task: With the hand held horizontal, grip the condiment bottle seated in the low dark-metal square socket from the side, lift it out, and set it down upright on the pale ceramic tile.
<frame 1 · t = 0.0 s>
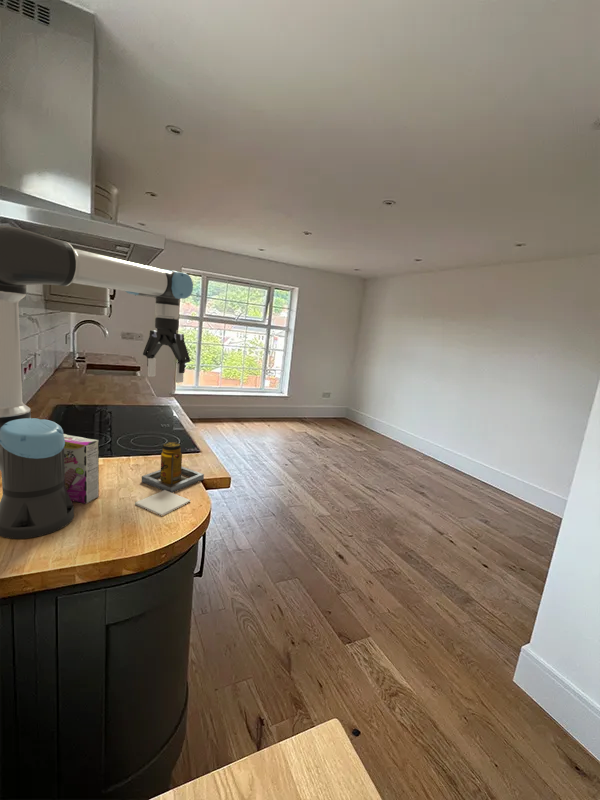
hand: (165, 379, 131), 28 cm above the worktop, tool pointing down, fingers open, 13 cm apart
socket: (173, 480, 116), on the worktop
candy bar box: (74, 498, 100), on the worktop
condiment: (173, 481, 116), resting in socket
tile: (163, 503, 101), on the worktop
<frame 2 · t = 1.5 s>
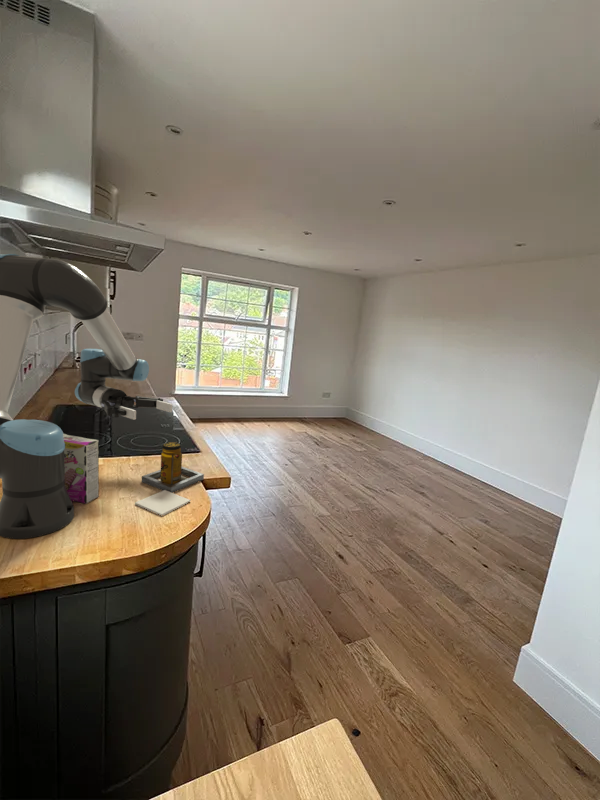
hand: (154, 411, 116), 20 cm above the worktop, tool horizontal, fingers open, 13 cm apart
nothing on the worktop moved.
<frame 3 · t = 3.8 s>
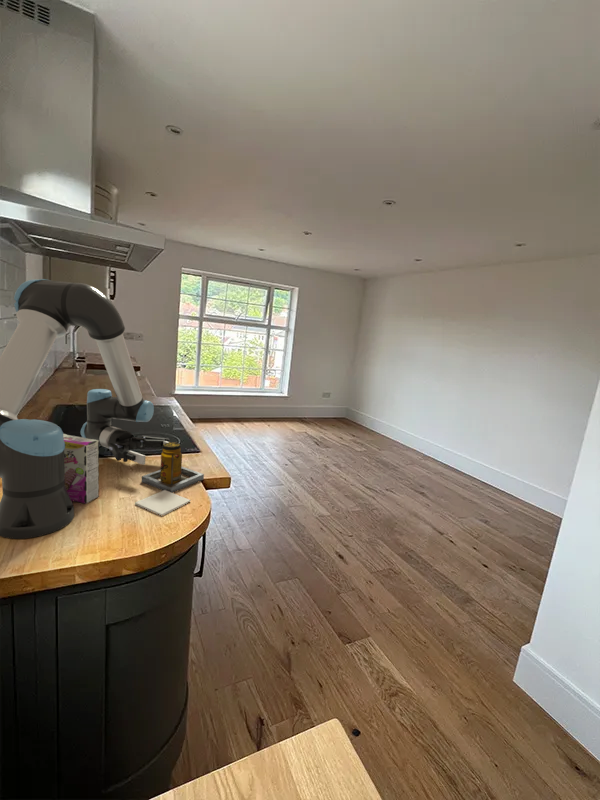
hand: (162, 454, 117), 7 cm above the worktop, tool horizontal, fingers open, 13 cm apart
nothing on the worktop moved.
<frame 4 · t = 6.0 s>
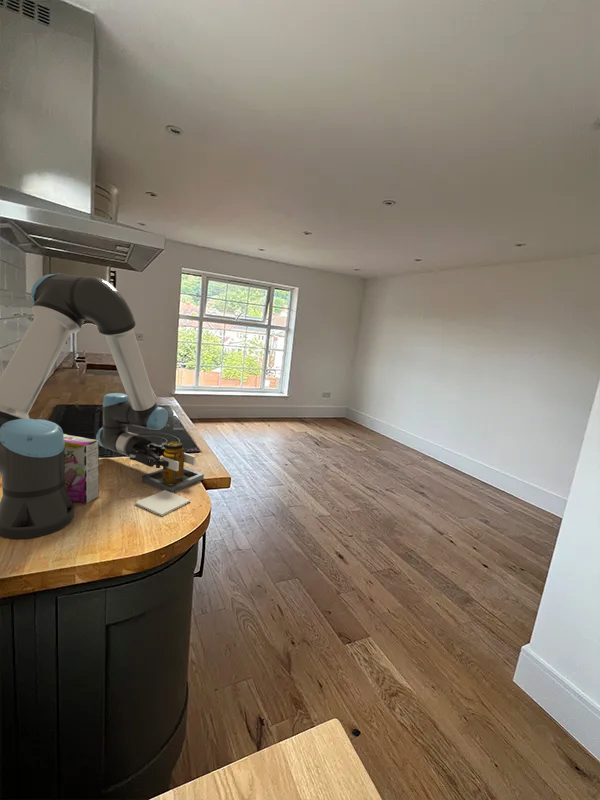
hand: (186, 463, 112), 7 cm above the worktop, tool horizontal, fingers closed on condiment, 6 cm apart
condiment: (175, 480, 116), resting in socket, touching gripper
everything else where it was.
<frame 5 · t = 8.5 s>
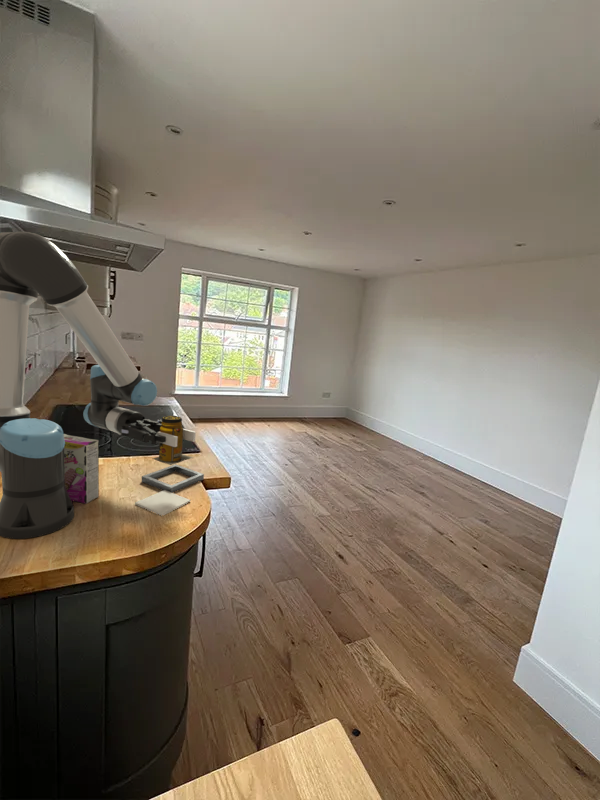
hand: (185, 439, 100), 18 cm above the worktop, tool horizontal, fingers closed on condiment, 6 cm apart
condiment: (173, 459, 104), point 11 cm above the worktop, touching gripper
everything else where it was.
when the fingers open (9 cm above the worktop, at t = 10.8 s): condiment drops 1 cm, resting on tile.
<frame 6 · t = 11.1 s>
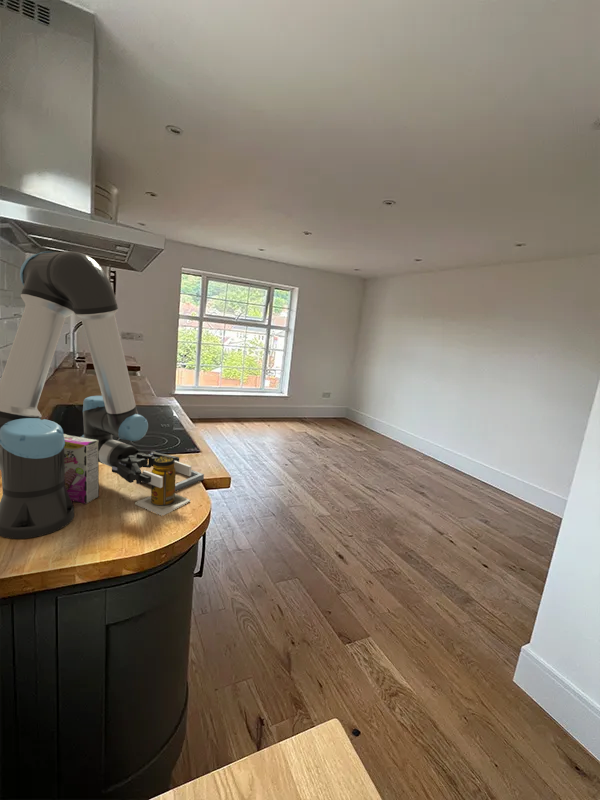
hand: (176, 476, 97), 9 cm above the worktop, tool horizontal, fingers open, 9 cm apart
condiment: (165, 501, 102), resting on tile
everything else where it was.
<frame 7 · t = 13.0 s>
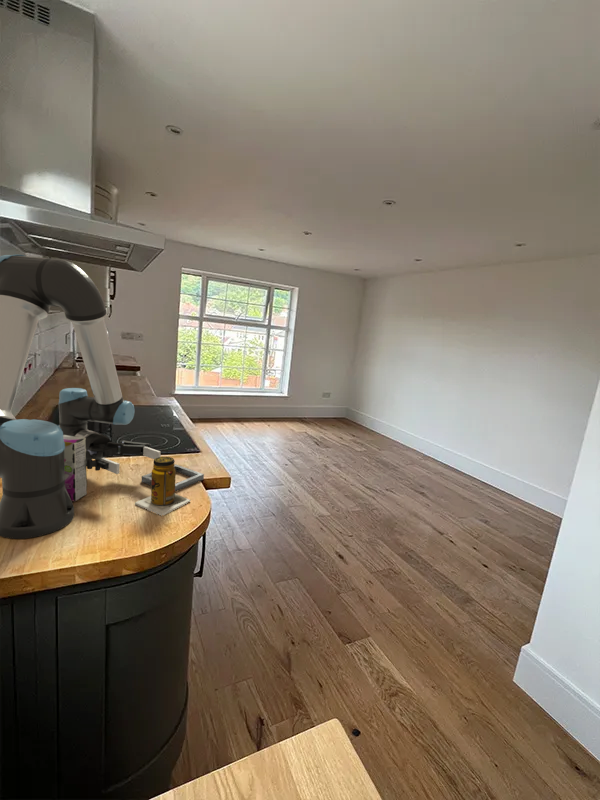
hand: (140, 462, 104), 9 cm above the worktop, tool horizontal, fingers open, 13 cm apart
candy bar box: (62, 496, 100), on the worktop, touching hand
everything else where it was.
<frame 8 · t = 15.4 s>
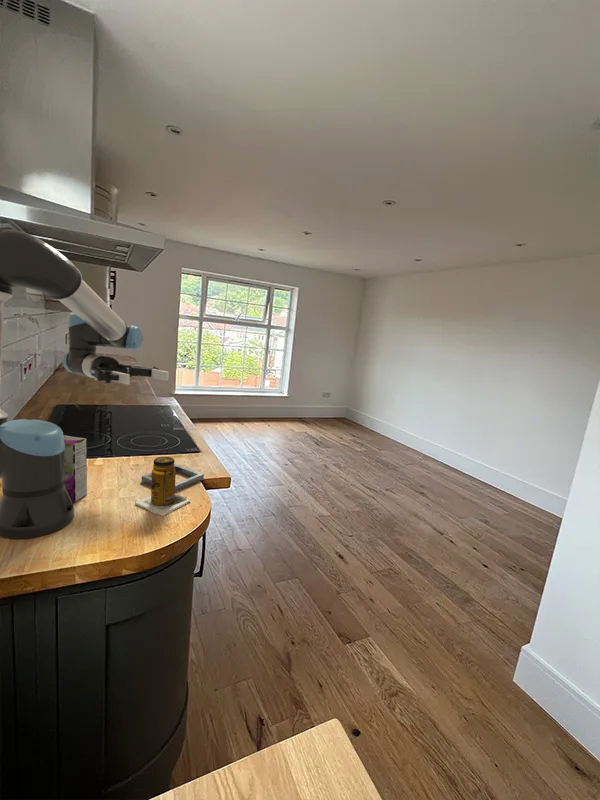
hand: (149, 377, 106), 32 cm above the worktop, tool horizontal, fingers open, 13 cm apart
candy bar box: (62, 496, 100), on the worktop
everything else where it was.
at the end: condiment inside the target area (0.8 cm from its centre), resting on tile; condiment tilted 0°; the gripper is holding nothing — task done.
